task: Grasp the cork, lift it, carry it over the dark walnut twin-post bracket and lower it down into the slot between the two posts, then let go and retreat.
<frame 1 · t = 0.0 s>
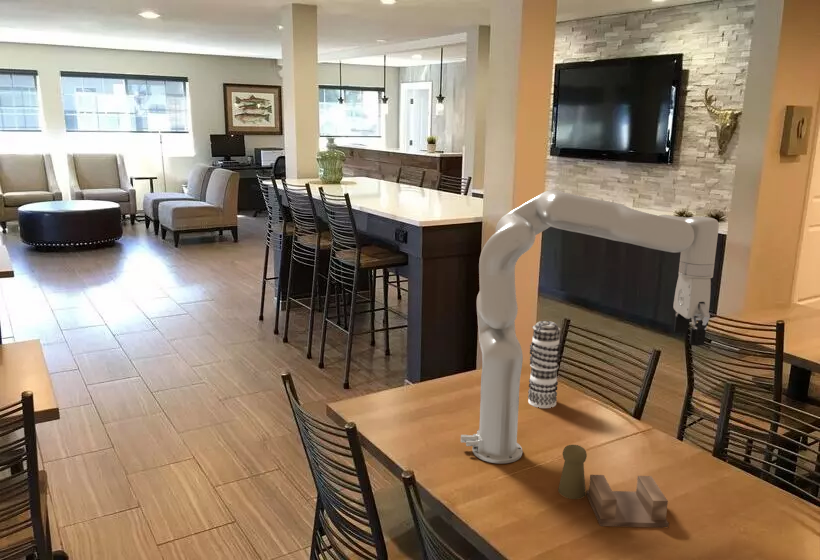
hand: (688, 338, 157), 31 cm above the table, fingers open, 9 cm apart
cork: (571, 492, 147), on the table
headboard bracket: (625, 510, 140), on the table
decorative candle: (542, 403, 196), on the table
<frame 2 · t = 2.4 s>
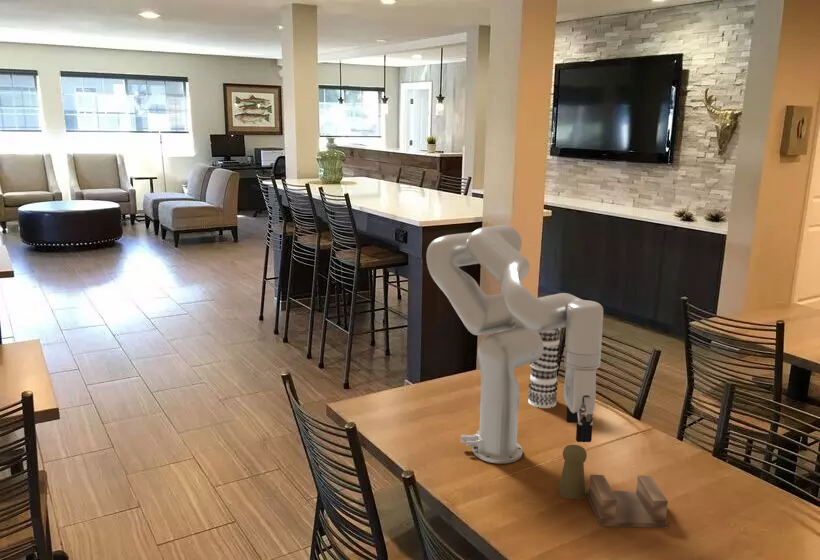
hand: (578, 431, 143), 15 cm above the table, fingers open, 9 cm apart
nothing on the table moved.
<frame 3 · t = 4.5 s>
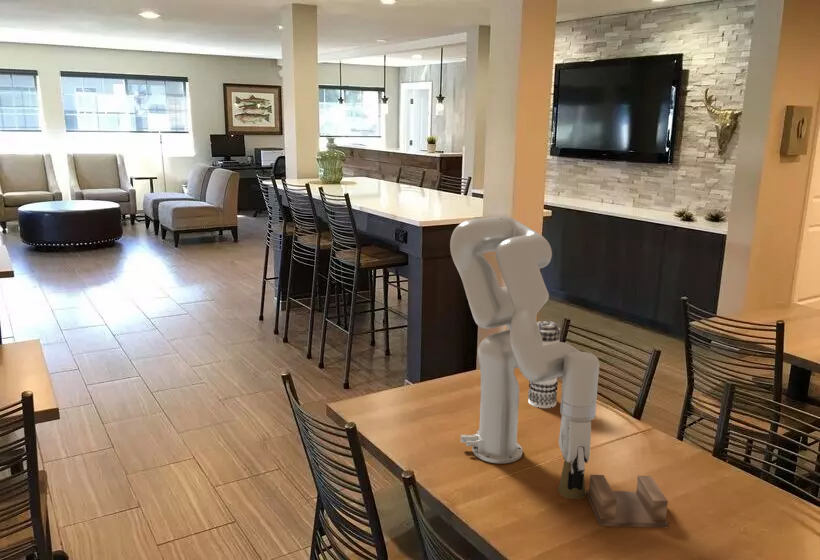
hand: (572, 482, 147), 2 cm above the table, fingers closed on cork, 4 cm apart
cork: (571, 492, 147), on the table, touching gripper
everything else where it was.
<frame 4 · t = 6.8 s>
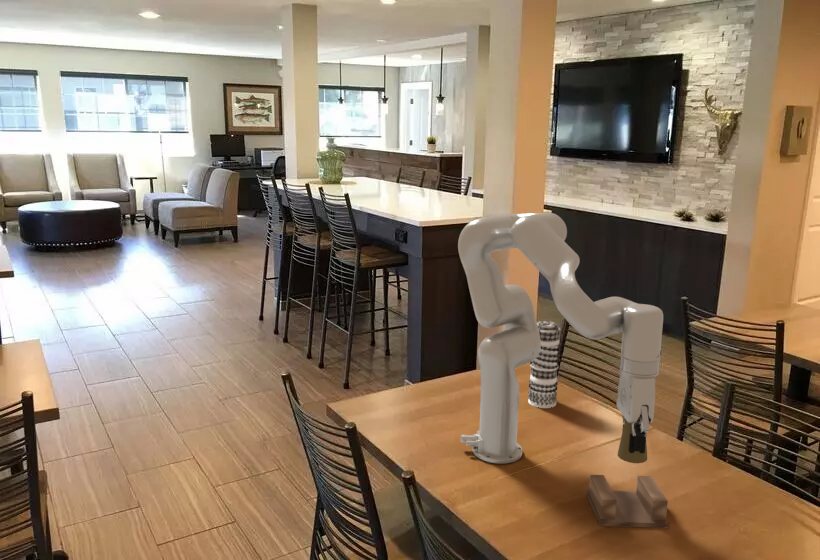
hand: (632, 446, 136), 15 cm above the table, fingers closed on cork, 4 cm apart
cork: (632, 457, 137), point 13 cm above the table, touching gripper
everything else where it was.
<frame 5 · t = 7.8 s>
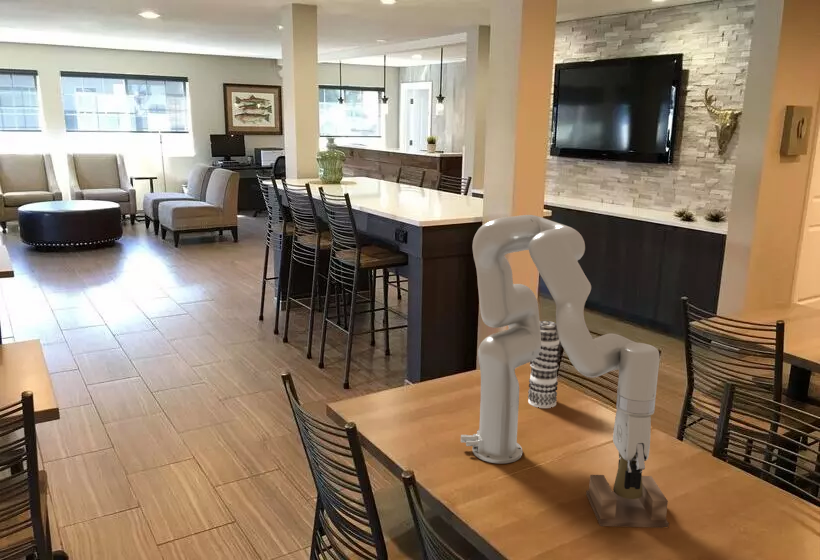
hand: (628, 481, 138), 7 cm above the table, fingers closed on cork, 4 cm apart
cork: (627, 492, 139), point 4 cm above the table, touching gripper
everything else where it was.
when the fingers open (5 cm above the table, at t = 8.9 s): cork drops 1 cm, resting on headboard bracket.
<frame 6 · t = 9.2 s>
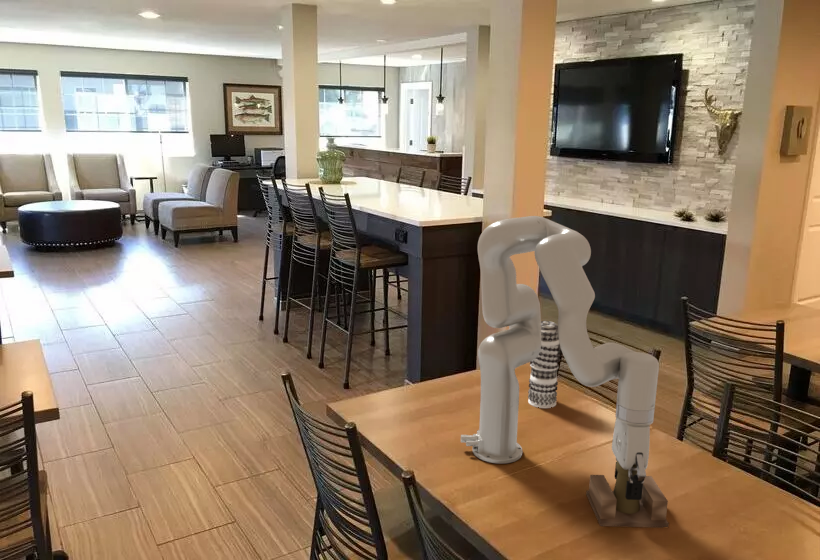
hand: (627, 488, 139), 5 cm above the table, fingers open, 7 cm apart
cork: (625, 506, 140), point 1 cm above the table, touching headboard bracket
everything else where it was.
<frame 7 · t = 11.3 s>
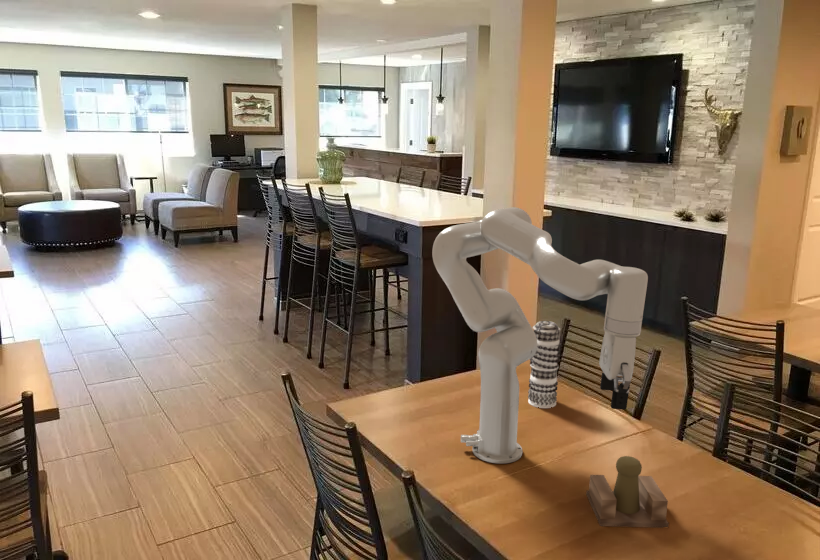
hand: (612, 398, 143), 22 cm above the table, fingers open, 9 cm apart
nothing on the table moved.
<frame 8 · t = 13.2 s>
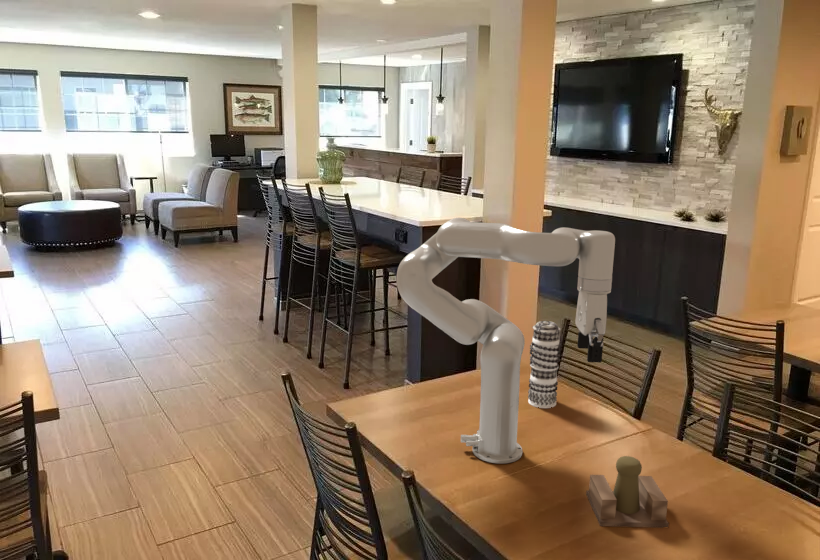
hand: (589, 354, 153), 28 cm above the table, fingers open, 9 cm apart
nothing on the table moved.
at the end: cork inside the target area on the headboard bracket (0.2 cm from its centre), point 0.8 cm above the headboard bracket's base; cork tilted 0°; the gripper is holding nothing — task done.
